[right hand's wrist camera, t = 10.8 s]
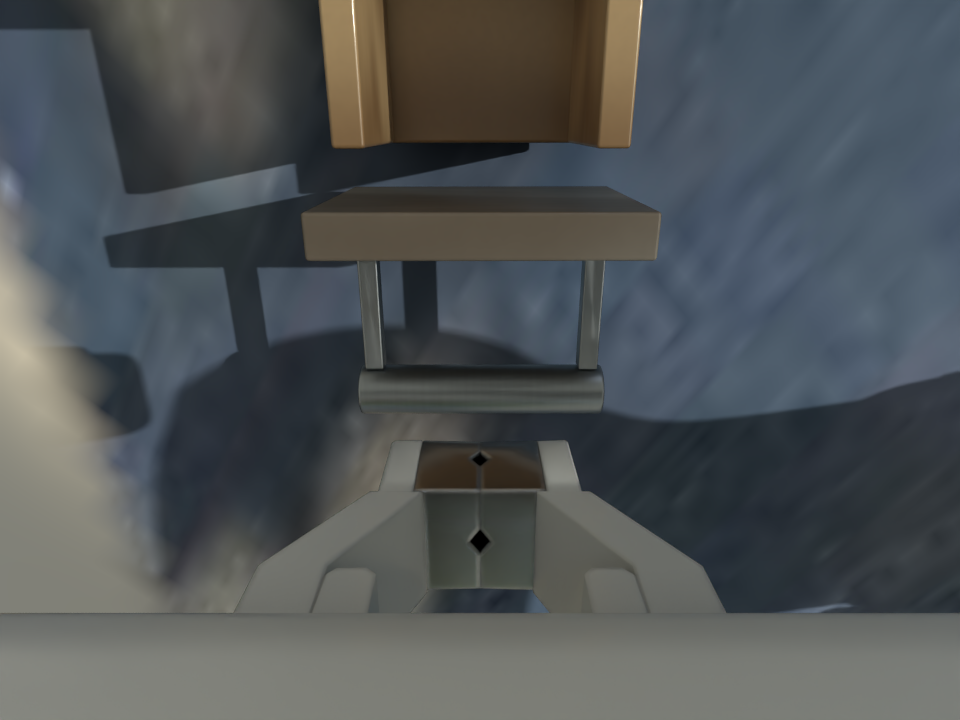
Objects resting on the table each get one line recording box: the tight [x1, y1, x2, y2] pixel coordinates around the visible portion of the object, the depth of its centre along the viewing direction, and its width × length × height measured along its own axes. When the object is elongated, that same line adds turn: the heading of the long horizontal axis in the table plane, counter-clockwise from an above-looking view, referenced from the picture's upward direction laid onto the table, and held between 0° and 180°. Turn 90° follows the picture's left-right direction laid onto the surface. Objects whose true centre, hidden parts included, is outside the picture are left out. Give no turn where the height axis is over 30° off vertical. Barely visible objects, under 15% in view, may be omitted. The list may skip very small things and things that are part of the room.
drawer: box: [301, 0, 661, 414], centre depth 16 cm, size 22×9×6 cm, turn 0°
